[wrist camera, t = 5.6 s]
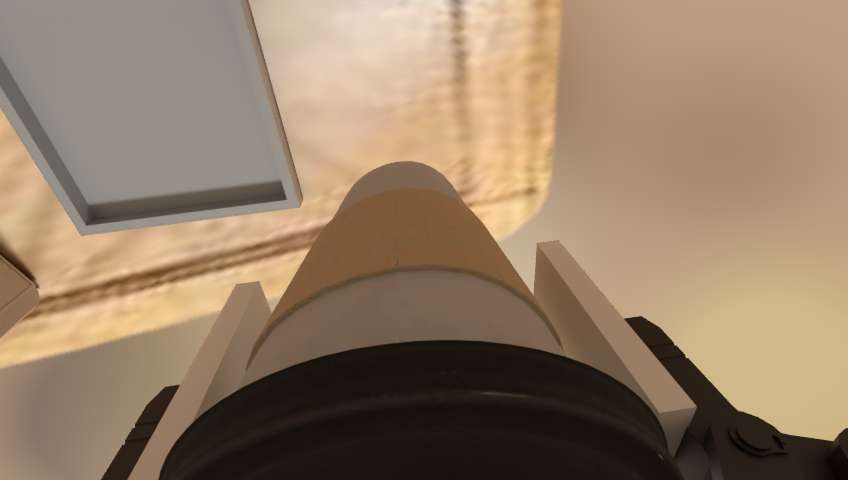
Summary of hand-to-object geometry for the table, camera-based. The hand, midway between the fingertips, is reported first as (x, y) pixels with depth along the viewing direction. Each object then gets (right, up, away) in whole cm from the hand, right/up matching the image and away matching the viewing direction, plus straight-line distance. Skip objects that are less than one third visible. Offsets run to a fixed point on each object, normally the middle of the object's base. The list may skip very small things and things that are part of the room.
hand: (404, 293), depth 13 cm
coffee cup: (0, +3, +5) cm, 6 cm away
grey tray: (-19, +12, +15) cm, 27 cm away
